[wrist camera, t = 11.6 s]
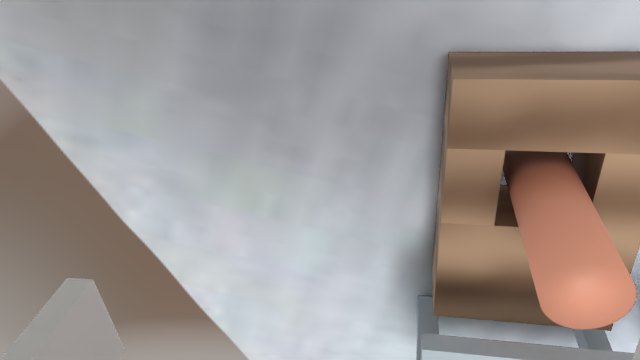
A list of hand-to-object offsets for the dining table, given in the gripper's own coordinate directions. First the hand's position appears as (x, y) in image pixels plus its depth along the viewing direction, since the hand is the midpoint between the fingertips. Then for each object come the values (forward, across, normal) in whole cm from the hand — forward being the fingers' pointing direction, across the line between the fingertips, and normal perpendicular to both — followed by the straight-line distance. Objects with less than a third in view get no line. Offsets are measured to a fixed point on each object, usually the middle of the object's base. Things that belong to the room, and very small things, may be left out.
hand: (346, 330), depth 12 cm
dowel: (+24, +9, -8) cm, 27 cm away
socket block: (+23, +9, -10) cm, 27 cm away
